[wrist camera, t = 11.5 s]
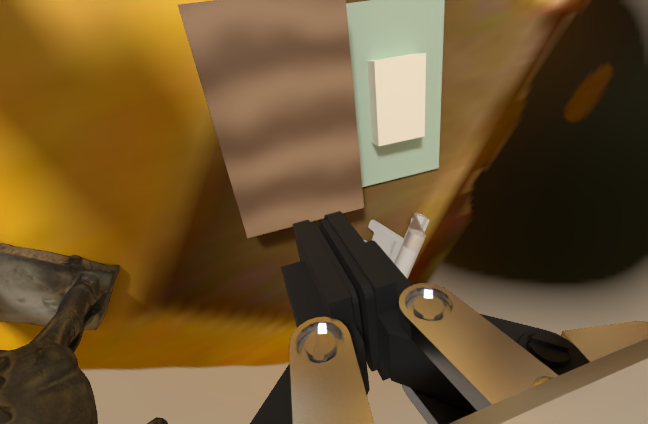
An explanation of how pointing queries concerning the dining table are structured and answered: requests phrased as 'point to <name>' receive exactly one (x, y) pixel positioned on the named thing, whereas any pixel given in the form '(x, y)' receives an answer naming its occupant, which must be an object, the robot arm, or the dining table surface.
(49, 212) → the dining table surface
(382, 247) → the portable electronic device stand
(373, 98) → the cream rectangular block
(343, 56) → the deck
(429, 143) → the mat
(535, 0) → the dining table surface
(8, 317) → the statue
